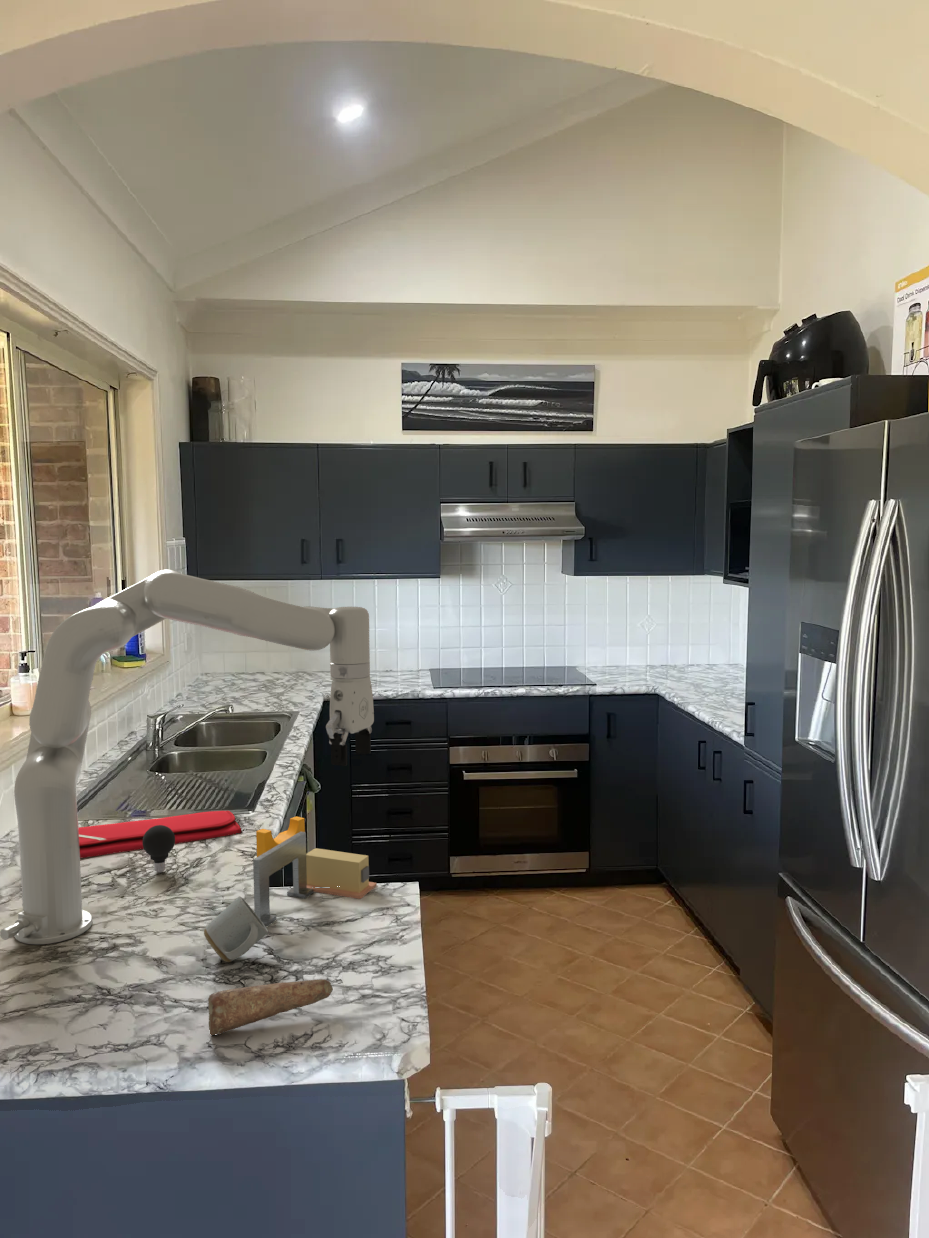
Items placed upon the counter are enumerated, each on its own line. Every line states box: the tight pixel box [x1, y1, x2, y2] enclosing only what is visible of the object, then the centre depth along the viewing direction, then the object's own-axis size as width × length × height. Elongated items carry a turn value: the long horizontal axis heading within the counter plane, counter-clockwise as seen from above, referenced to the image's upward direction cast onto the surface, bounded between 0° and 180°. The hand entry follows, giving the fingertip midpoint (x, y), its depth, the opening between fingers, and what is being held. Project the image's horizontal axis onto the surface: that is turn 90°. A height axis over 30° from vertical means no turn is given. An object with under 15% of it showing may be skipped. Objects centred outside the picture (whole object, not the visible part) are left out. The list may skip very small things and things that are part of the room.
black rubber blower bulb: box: [142, 825, 176, 874], centre depth 184 cm, size 6×6×10 cm
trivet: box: [307, 881, 377, 900], centre depth 176 cm, size 7×14×1 cm, turn 69°
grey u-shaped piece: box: [252, 831, 314, 927], centre depth 166 cm, size 16×4×12 cm, turn 159°
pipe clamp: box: [255, 816, 306, 858], centre depth 196 cm, size 12×4×6 cm, turn 146°
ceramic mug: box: [203, 896, 269, 963], centre depth 145 cm, size 11×8×8 cm
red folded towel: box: [78, 810, 243, 859], centre depth 205 cm, size 16×41×4 cm, turn 117°
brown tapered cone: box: [207, 978, 334, 1035], centre depth 128 cm, size 6×18×6 cm, turn 117°
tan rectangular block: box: [306, 847, 370, 893], centre depth 176 cm, size 4×12×6 cm, turn 69°
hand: (351, 758), depth 172 cm, fingers open, 9 cm apart
